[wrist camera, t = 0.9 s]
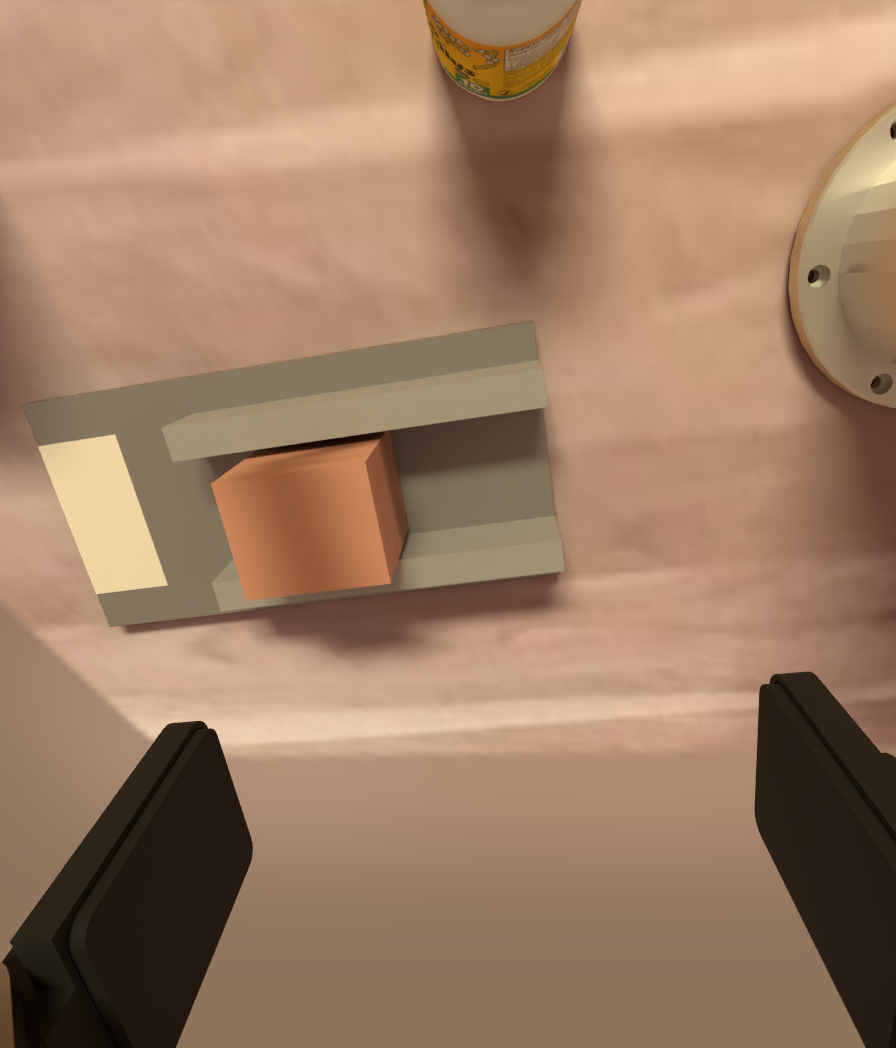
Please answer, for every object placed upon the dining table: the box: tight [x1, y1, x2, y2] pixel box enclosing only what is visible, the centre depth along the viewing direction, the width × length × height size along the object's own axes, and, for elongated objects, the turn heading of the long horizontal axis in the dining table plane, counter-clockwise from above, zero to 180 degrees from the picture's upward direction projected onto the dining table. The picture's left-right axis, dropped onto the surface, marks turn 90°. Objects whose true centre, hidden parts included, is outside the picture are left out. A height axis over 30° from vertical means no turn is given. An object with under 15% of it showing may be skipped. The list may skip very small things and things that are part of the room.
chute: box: [22, 321, 565, 627], centre depth 29 cm, size 24×12×4 cm, turn 99°
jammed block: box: [211, 430, 409, 601], centre depth 27 cm, size 6×5×6 cm
